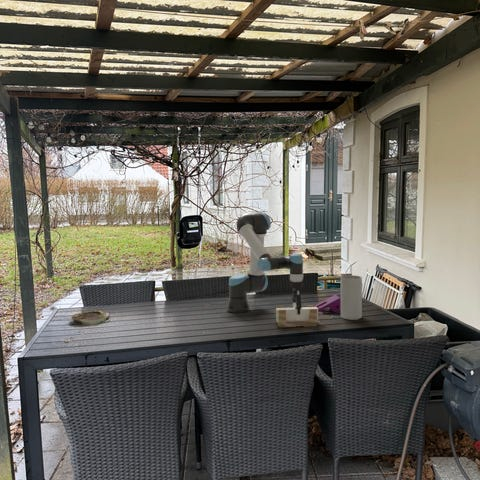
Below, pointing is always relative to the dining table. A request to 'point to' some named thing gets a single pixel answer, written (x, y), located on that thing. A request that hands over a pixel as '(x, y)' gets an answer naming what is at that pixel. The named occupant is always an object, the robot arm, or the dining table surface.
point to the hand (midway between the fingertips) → (296, 316)
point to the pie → (90, 317)
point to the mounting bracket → (330, 304)
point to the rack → (283, 322)
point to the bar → (292, 313)
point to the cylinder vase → (351, 297)
